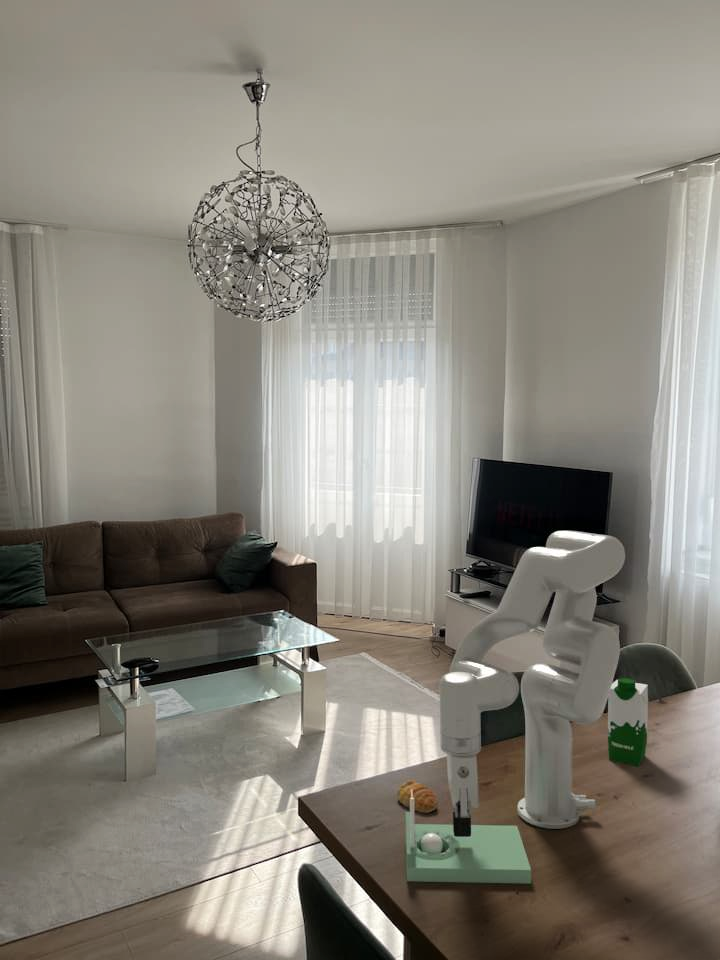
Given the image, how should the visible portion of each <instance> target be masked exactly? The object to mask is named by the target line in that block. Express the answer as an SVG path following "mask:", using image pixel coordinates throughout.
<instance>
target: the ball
mask: <svg viewBox="0 0 720 960" xmlns="http://www.w3.org/2000/svg"><path fill="white" fill-rule="evenodd" d="M420 845H421V850H422V852H425V853H428V854H440V853H441V852H442V849H443V843H442V840H441V838H440V837H439V836H438V835H437V834H434V833H428V834H426V835H425V836H424V837H423V838H422V840H421V844H420Z"/></svg>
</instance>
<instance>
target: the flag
mask: <svg viewBox="0 0 720 960" xmlns="http://www.w3.org/2000/svg"><path fill="white" fill-rule="evenodd" d="M409 812H410V847H411V848H414V824H415V810H414V798H413V791H412V789H411V798H410V808H409Z"/></svg>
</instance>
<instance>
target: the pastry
mask: <svg viewBox="0 0 720 960" xmlns="http://www.w3.org/2000/svg"><path fill="white" fill-rule="evenodd" d="M411 789H412V791H413V798H414V811H415V810H417V811H416V812H418V811H419V813H424V814H428V813H431V812H433V811H436V809H437V806H438V803H439V802H438V801H437V799H436V796H435V795H434V793H433V792H432V791H431V790H430V789H429V788H428V786H426V785H424V784H423V783H422V782H418V783H417V782H416V781H415V780H406V781H405V782H404V783H402V784H401V785H400V787H399V788H398V790H397V793H396V796H397V798H398V800H399V802H400V803H401V804H403V806H405V807H406V808H408V807H409V809H410V798H411Z"/></svg>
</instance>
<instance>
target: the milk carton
mask: <svg viewBox="0 0 720 960" xmlns="http://www.w3.org/2000/svg"><path fill="white" fill-rule="evenodd" d="M648 685H649V684H646V683H637V682H636V680H635V679H633V678H629V677H620V678H618V679H616V680H615V681H612V685H611V688H610V692H609V696H608V699H607V709H608V710H607V748H608V760H609V761H614V762H617V763H622V764H626V765H631V766H635V767H640V764H642V761H643V760H644V758H645V756H646V751H647V744H648V722H649V721H648V720H649V719H648V715H649V710H648V709H649V707H648V704H649V697H648V696H649V695H648V693H649V690H648V687H649V686H648Z"/></svg>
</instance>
